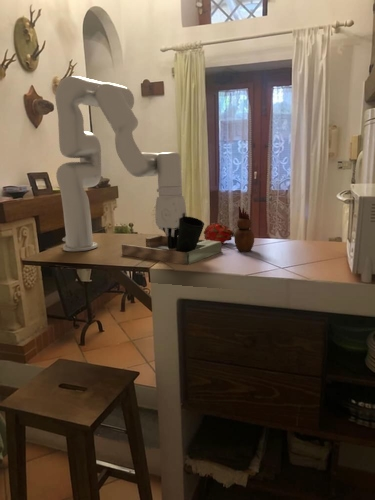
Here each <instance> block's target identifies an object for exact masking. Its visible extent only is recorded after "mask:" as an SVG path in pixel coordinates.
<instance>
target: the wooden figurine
mask: <svg viewBox="0 0 375 500" xmlns="http://www.w3.org/2000/svg"><path fill="white" fill-rule="evenodd" d="M236 222H237V223H236V227H237V228H238V229H236V231H235V232H234V234H235V236H233V237H234V239H233V240H234V245H235V248H236V249H237V250H238V251H239V252H243V253H245V252H251V251H252V249H253V248H254V244H255V233H254V231H253V230H251V227H252V221H251V219H250V216H249V213H247V211H245V208H244V207H243V208H241V206H238V219H237V221H236Z"/></svg>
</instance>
